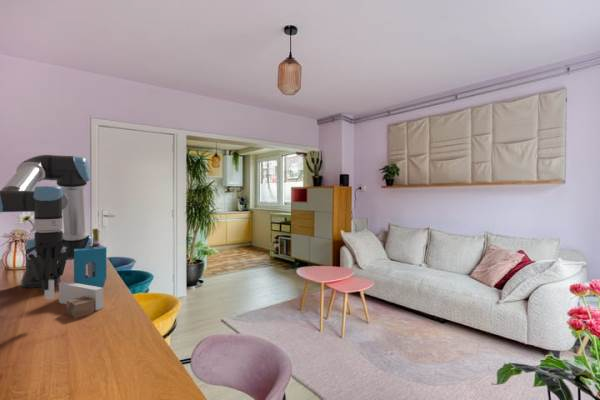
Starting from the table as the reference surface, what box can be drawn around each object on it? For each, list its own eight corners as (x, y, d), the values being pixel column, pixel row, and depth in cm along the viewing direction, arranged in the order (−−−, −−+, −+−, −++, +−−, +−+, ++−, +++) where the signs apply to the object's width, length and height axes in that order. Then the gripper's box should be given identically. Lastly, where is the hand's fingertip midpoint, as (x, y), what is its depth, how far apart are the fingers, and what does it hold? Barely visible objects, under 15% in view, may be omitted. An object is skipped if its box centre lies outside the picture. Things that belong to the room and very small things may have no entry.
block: (74, 296, 132) (73, 250, 132) (74, 293, 136) (73, 249, 136) (106, 291, 139) (106, 248, 139) (105, 288, 143) (105, 246, 143)
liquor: (106, 284, 150) (106, 227, 149) (104, 288, 143) (104, 229, 143) (88, 286, 147) (88, 228, 146) (85, 290, 140) (85, 230, 140)
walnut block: (66, 313, 114) (66, 300, 114) (84, 308, 119) (84, 296, 119) (75, 318, 109) (75, 305, 109) (94, 313, 114) (94, 300, 114)
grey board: (59, 302, 125) (58, 283, 124) (66, 300, 127) (66, 281, 127) (95, 310, 116) (95, 290, 116) (103, 308, 119) (103, 287, 119)
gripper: (33, 234, 97) (33, 306, 98) (75, 229, 109) (76, 293, 110) (19, 232, 100) (20, 302, 101) (62, 227, 112) (62, 290, 113)
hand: (49, 298), depth 106 cm, fingers closed
